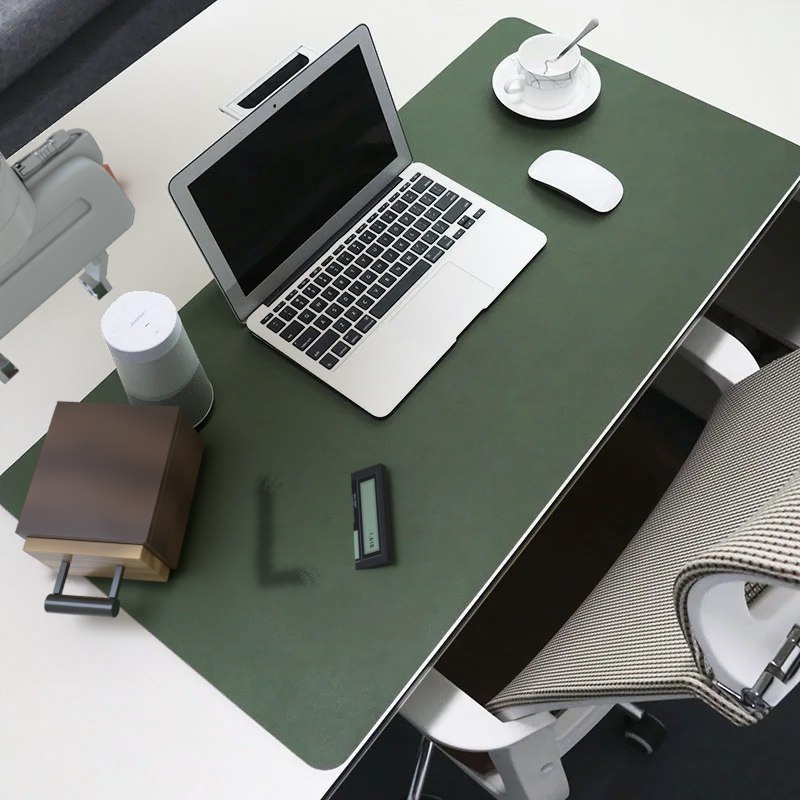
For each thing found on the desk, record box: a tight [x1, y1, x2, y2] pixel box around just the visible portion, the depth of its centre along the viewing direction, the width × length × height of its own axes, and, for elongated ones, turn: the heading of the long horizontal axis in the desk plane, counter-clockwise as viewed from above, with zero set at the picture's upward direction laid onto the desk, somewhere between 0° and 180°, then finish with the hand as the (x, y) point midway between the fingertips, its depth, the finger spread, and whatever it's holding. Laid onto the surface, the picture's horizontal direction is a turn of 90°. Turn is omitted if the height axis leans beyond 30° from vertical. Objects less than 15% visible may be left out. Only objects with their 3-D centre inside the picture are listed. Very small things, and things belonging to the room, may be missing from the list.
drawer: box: [22, 537, 171, 619], centre depth 75 cm, size 16×10×7 cm, turn 174°
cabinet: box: [14, 400, 205, 570], centre depth 76 cm, size 13×12×9 cm
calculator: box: [350, 462, 394, 571], centre depth 76 cm, size 9×12×3 cm
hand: (55, 331), depth 65 cm, fingers open, 8 cm apart
